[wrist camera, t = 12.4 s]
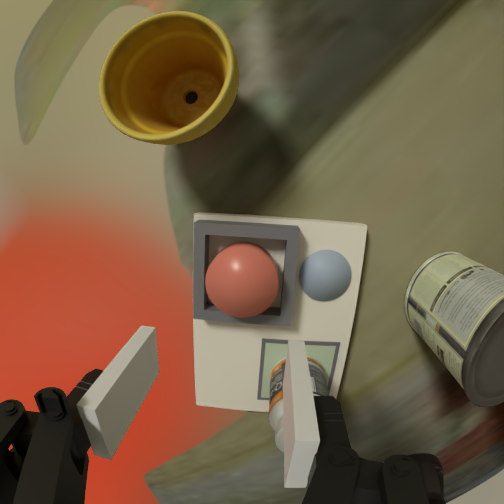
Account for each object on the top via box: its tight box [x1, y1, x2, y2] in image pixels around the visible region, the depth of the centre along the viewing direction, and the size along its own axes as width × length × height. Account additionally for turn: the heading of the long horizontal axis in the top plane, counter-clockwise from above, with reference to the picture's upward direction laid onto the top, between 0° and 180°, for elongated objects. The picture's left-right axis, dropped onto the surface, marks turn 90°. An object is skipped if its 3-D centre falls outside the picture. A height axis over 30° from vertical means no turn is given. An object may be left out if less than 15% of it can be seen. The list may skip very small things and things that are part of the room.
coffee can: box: [405, 252, 504, 407], centre depth 24 cm, size 10×10×14 cm
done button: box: [205, 242, 278, 318], centre depth 27 cm, size 6×6×2 cm
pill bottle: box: [269, 355, 330, 452], centre depth 27 cm, size 6×6×10 cm
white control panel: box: [193, 212, 367, 412], centre depth 31 cm, size 22×16×4 cm
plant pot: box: [99, 11, 239, 145], centre depth 23 cm, size 10×10×10 cm
